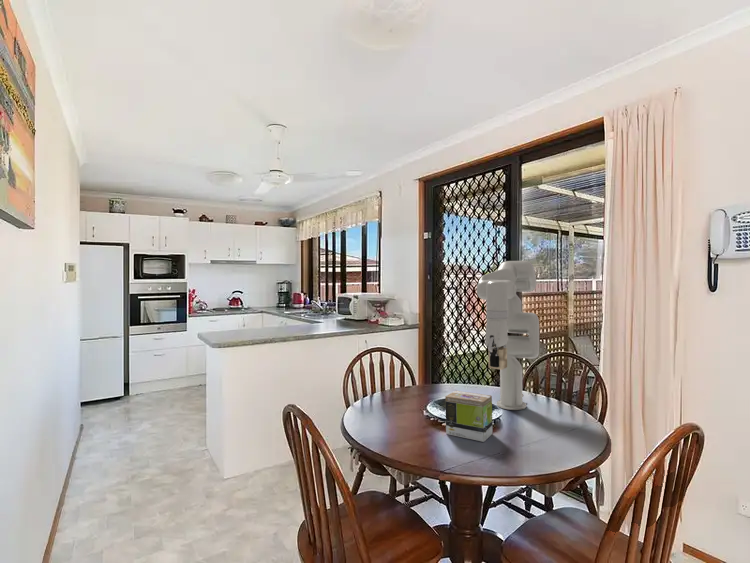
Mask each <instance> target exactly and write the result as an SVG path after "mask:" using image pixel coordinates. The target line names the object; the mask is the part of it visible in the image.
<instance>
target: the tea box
mask: <svg viewBox="0 0 750 563" xmlns="http://www.w3.org/2000/svg"><path fill="white" fill-rule="evenodd" d="M444 398H445V404H444V406H445V433H446V435H449V436H453V437H459V438H462V439H463V438H464V439H468V440H473V441H477V442H480V443H481V442H482V443H484V442H486V441H487V440H488V438H490V437H491V436H492V435H493V399H492V398H493V396H492V395H490V394H482V393H477V392H476V393H475V392H469V391H461V390H454V391H452V392H451V393H449V394H447V395H446V396H444Z"/></svg>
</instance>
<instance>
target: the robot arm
mask: <svg viewBox="0 0 750 563" xmlns="http://www.w3.org/2000/svg"><path fill="white" fill-rule="evenodd" d="M536 287H537V277H536V269H535V268H534V265H533V263H532V262H530V261H529V260H507V261H506V260H505V261H503V262H501V263H500V264H499V265H498V268H497V270H494V271H492V272H489V273H485V274H483V275H482V276H481V277H480V278H479V279H478V282H477V286H476V295H477V297H478V298H479V299H481V300H486V302H485V303H486V308H485V309H486V310H485V311H486V314H485V316H486V323H485V324H486V325H485V343H484V344H485V346H486V348H487V349H488V350H489V352H490V354H489V355H490V366H491V367H499V356H498V350H499V347H503V348H507V367H506V368H504V369H503V370H500V369H499V377H500V378H499V380H500V381H499V385H500V386H499V390H500V391H499V392H500V393H499V394H500V397H499V400H498V401H496V405H497V407H499V408H500V409H504V410H509V411H521V410H524V409H526V408H527V403H526V402H524V401H523V397H524V393H523V366H522V364H521V362H520V361H519V360H518V359H531V360H532V359H536V358H538V356H539V355H540V320H539V317H538V315H537V314H536V313H534V312H526V311H525V312H523V310H522V308H523V307H522V304H523V302H522V299H521V297H519V296H518V295H517V292H519V293H525V292H527V293H529V292H530V293H531V292H534V290H535V289H536ZM508 333H509V334H520V335H521V334H523V335H524V334H525V335H527V336H519V335H509V334H508ZM495 349H496V351H495ZM488 350H487V351H488Z"/></svg>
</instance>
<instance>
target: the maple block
mask: <svg viewBox="0 0 750 563" xmlns="http://www.w3.org/2000/svg"><path fill="white" fill-rule="evenodd" d="M487 351H488V358H487V359H488V362H487V363H488V369H495V370H499V371H500V370H503V369H504V368H506V367H507V348H503V347H499V350H498V356H499V367H491V366H490V355H489V354H490V352H489V350H487ZM495 351H496V349H495Z"/></svg>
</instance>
